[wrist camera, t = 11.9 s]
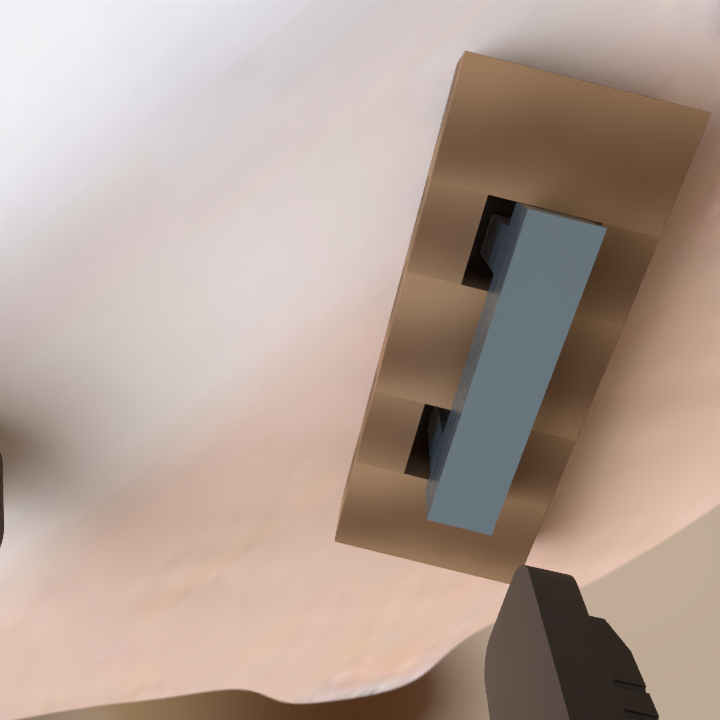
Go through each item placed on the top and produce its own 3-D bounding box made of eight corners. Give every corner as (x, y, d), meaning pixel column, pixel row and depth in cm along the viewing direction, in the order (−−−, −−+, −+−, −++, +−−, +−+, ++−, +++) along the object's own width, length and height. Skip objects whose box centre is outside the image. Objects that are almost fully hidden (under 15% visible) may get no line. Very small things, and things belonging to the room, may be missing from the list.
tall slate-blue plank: (498, 193, 29) (528, 208, 22) (558, 208, 29) (607, 228, 22) (422, 441, 34) (426, 519, 27) (474, 453, 34) (491, 535, 27)
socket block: (457, 63, 27) (465, 50, 23) (669, 117, 27) (711, 113, 23) (342, 499, 35) (334, 541, 32) (504, 538, 35) (515, 585, 32)
